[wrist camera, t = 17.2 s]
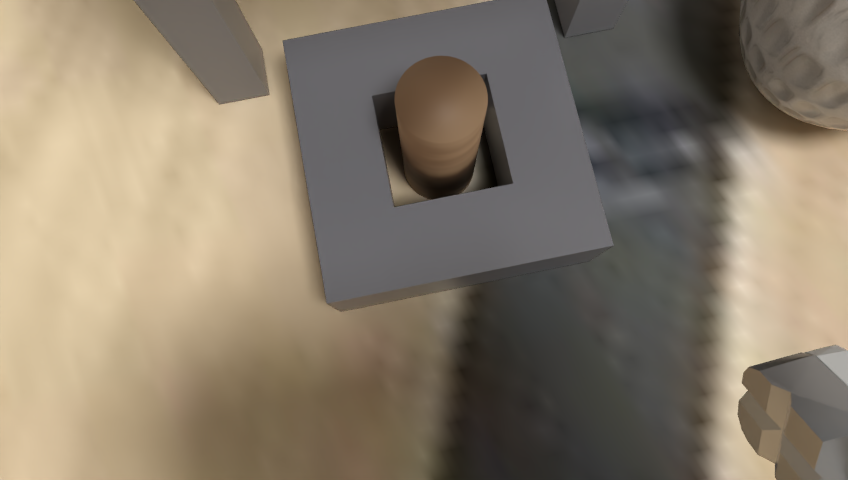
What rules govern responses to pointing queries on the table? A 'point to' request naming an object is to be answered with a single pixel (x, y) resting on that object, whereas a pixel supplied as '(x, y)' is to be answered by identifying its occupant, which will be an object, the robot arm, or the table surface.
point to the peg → (440, 124)
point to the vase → (799, 57)
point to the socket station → (375, 109)
